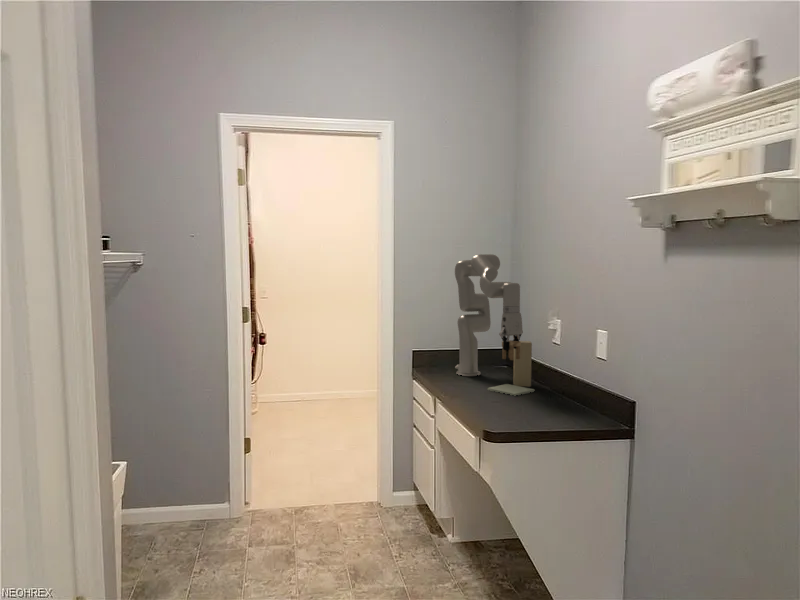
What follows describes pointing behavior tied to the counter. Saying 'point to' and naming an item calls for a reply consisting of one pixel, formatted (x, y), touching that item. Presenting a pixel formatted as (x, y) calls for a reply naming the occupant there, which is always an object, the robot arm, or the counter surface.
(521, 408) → the counter surface
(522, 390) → the sage mat
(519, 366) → the beige block
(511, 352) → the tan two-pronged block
